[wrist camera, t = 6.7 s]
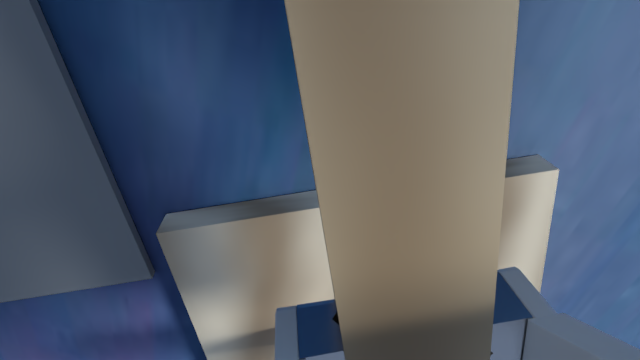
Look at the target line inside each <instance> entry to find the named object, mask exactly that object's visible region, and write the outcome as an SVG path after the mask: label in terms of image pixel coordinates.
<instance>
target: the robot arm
mask: <svg viewBox="0 0 640 360" xmlns="http://www.w3.org/2000/svg"><path fill="white" fill-rule="evenodd" d="M275 360H345V354H344V348H343V342H342V337H341V331H340V325H339V320H338V314H337V308H336V302H335V299H332V300H325V301H319V302H312V303H305V304H299V305H296V306H289V307H282V308H277V309H276V313H275ZM490 360H640V349H638V348H636V347H633V346H631V345H629V344H627V343H625V342H623V341H621V340H619V339H617V338H615V337H613V336H611V335H609V334H606V333H604V332H602V331H600V330H598V329H596V328H594V327H592V326H590V325H588V324H586V323H584V322H581V321H579V320H577V319H575V318H573V317H571V316H569V315H567V314H565V313H560V314H557V313H556V312H555V310H554V309H553V308H552V307H551V306H550V305H549V303H548V302H547V301H546V300H545V299H544V298H543V296H542V295H541V294H540V293H539V292H538V291H537V289H536V288H535V287H534V286H533V285H532V283H531V282H530V281H529V280H528V279H527V278H526V276H525V275H524V274H523V273H522V272H521V271H520V269H518V268H517V267H509V268H504V269H499V270H497V281H496V293H495V305H494V318H493V330H492V342H491V354H490Z"/></svg>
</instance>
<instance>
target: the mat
mask: <svg viewBox="0 0 640 360" xmlns="http://www.w3.org/2000/svg"><path fill="white" fill-rule="evenodd" d="M154 273H155V271H154V268H153V266H152V264H151V261H150V259H149V257H148V255H147V252H146V250H145V248H144V245H143V243H142V241H141V238H140V236H139V234H138V232H137V229H136V227H135V225H134V222H133V220H132V218H131V215H130V213H129V211H128V209H127V206H126V204H125V202H124V199H123V197H122V195H121V192H120V190H119V188H118V185H117V183H116V181H115V179H114V176H113V174H112V172H111V169H110V167H109V165H108V162H107V160H106V158H105V156H104V153H103V151H102V149H101V146H100V144H99V142H98V139H97V137H96V135H95V133H94V130H93V128H92V126H91V123H90V121H89V119H88V116H87V114H86V112H85V109H84V107H83V105H82V103H81V100H80V98H79V96H78V93H77V91H76V89H75V86H74V84H73V82H72V80H71V77H70V75H69V73H68V70H67V68H66V66H65V63H64V61H63V59H62V57H61V54H60V52H59V50H58V47H57V45H56V43H55V40H54V38H53V36H52V33H51V31H50V29H49V27H48V24H47V22H46V20H45V17H44V15H43V13H42V10H41V8H40V6H39V4H38V1H37V0H0V303H2V302H8V301H14V300H21V299H27V298H33V297H39V296H46V295H52V294H58V293H65V292H71V291H77V290H83V289H90V288H96V287H102V286H108V285H115V284H121V283H127V282H133V281H140V280H146V279H152V278H153V276H154Z"/></svg>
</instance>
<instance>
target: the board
mask: <svg viewBox="0 0 640 360" xmlns="http://www.w3.org/2000/svg"><path fill="white" fill-rule="evenodd" d="M558 174H559V169H558V168H557V167H555V166H554V165H552V164H551V163H549V162H548V161H547V160H545V159H544V158H542V157H541V156H540V155H533V156H526V157H520V158H514V159H508V160H506V171H505V183H504V196H503V208H502V220H501V232H500V244H499V257H498V269H497V270H499V269H504V268H509V267H517V268H518V269H520V271H521V272H522V273H523V274H524V275H525V276H526V278H527V279H528V280H529V281H530V282H531V283H532V285H533V286H534V287H535V288H536V289H537V291H538V292H539V293H540V289H541V282H542V276H543V270H544V263H545V257H546V250H547V244H548V238H549V231H550V225H551V219H552V212H553V206H554V200H555V193H556V187H557V180H558ZM156 236H157V238H158V240H159V243H160V245H161V248H162V250H163V253H164V255H165V258H166V260H167V262H168V265H169V267H170V270H171V272H172V275H173V277H174V280H175V282H176V284H177V287H178V289H179V292H180V294H181V297H182V299H183V302H184V304H185V306H186V309H187V311H188V314H189V316H190V319H191V321H192V324H193V326H194V328H195V331H196V333H197V336H198V338H199V341H200V343H201V346H202V348H203V350H204V353H205V355H206V358H207V360H275V313H276V309H277V308H282V307H289V306H296V305H299V304H305V303H312V302H319V301H325V300H332V299H335V298H334V292H333V286H332V280H331V274H330V268H329V262H328V256H327V250H326V245H325V239H324V233H323V227H322V221H321V215H320V209H319V203H318V197H317V191H316V190H313V191H307V192H301V193H295V194H288V195H282V196H276V197H270V198H263V199H257V200H251V201H245V202H238V203H232V204H226V205H219V206H213V207H207V208H201V209H194V210H188V211H182V212H176V213H169V214H166V215H165V217H164V219H163V221H162V223H161V225H160V227H159V229H158V230H157V232H156Z"/></svg>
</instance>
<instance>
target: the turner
mask: <svg viewBox="0 0 640 360" xmlns="http://www.w3.org/2000/svg"><path fill="white" fill-rule="evenodd" d="M284 3H285V9H286V15H287V20H288V26H289V32H290V38H291V44H292V50H293V56H294V62H295V68H296V74H297V79H298V85H299V91H300V97H301V103H302V109H303V115H304V121H305V127H306V132H307V138H308V144H309V150H310V156H311V162H312V168H313V174H314V180H315V186H316V191H317V197H318V203H319V209H320V215H321V221H322V227H323V233H324V239H325V245H326V250H327V256H328V262H329V268H330V274H331V280H332V286H333V292H334V298H335V302H336V308H337V314H338V320H339V325H340V331H341V337H342V342H343V348H344V354H345V360H490V354H491V342H492V330H493V318H494V305H495V293H496V281H497V269H498V257H499V244H500V232H501V220H502V208H503V196H504V183H505V171H506V159H507V147H508V134H509V122H510V110H511V98H512V86H513V73H514V61H515V49H516V37H517V25H518V12H519V0H284Z"/></svg>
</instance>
